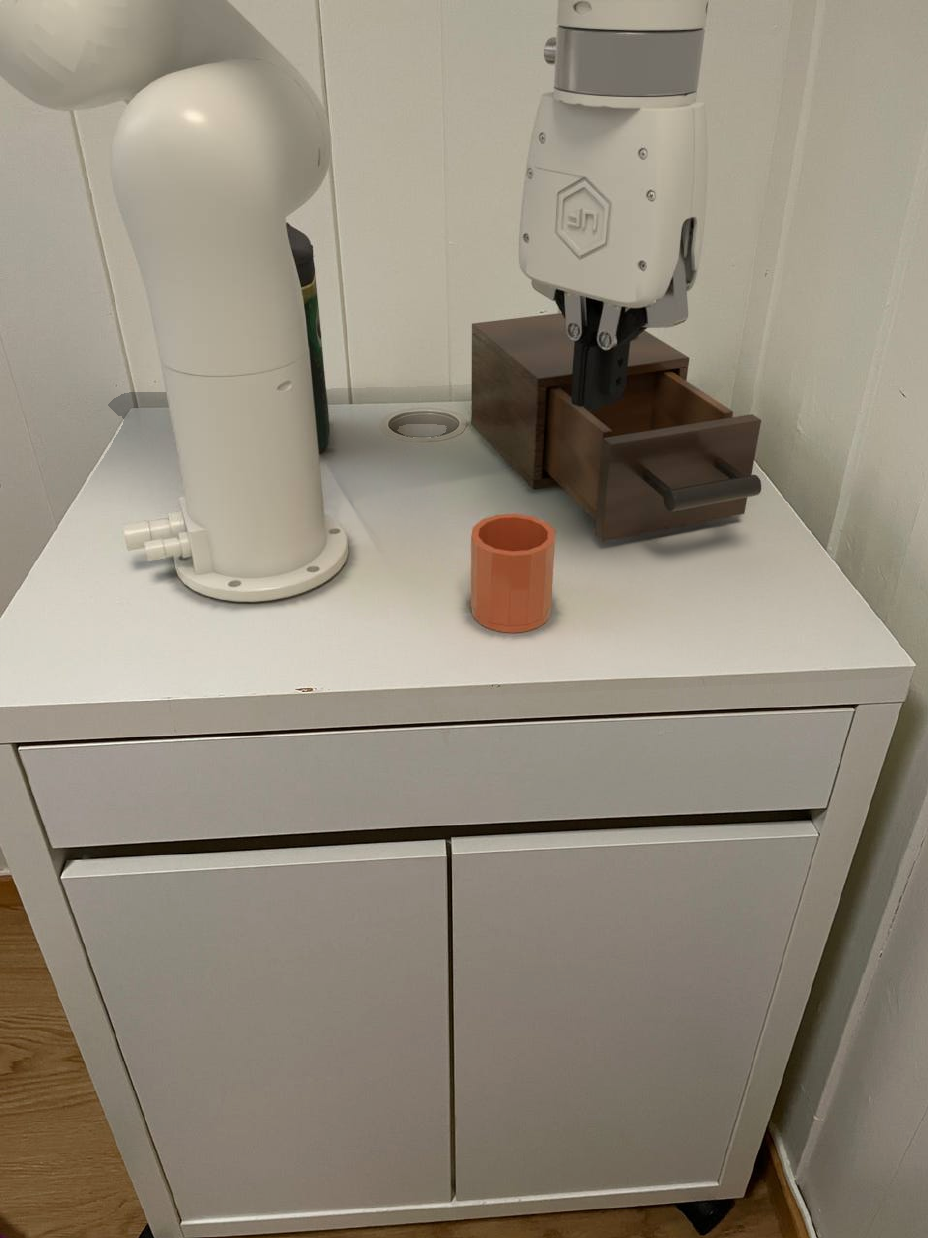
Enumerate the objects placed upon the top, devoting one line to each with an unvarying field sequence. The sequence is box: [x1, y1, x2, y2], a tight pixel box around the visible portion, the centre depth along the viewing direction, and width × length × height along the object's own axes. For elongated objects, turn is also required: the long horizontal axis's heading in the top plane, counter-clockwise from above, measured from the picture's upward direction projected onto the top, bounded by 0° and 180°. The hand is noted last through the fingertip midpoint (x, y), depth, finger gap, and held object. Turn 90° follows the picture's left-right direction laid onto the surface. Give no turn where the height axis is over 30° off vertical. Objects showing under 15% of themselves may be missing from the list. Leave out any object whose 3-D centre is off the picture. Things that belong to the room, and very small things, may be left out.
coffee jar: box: [286, 221, 331, 453], centre depth 84 cm, size 10×8×19 cm
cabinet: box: [470, 312, 690, 490], centre depth 86 cm, size 15×14×10 cm
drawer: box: [542, 370, 762, 542], centre depth 75 cm, size 18×12×8 cm
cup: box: [470, 513, 556, 634], centre depth 65 cm, size 5×6×6 cm
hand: (596, 401), depth 61 cm, fingers closed
